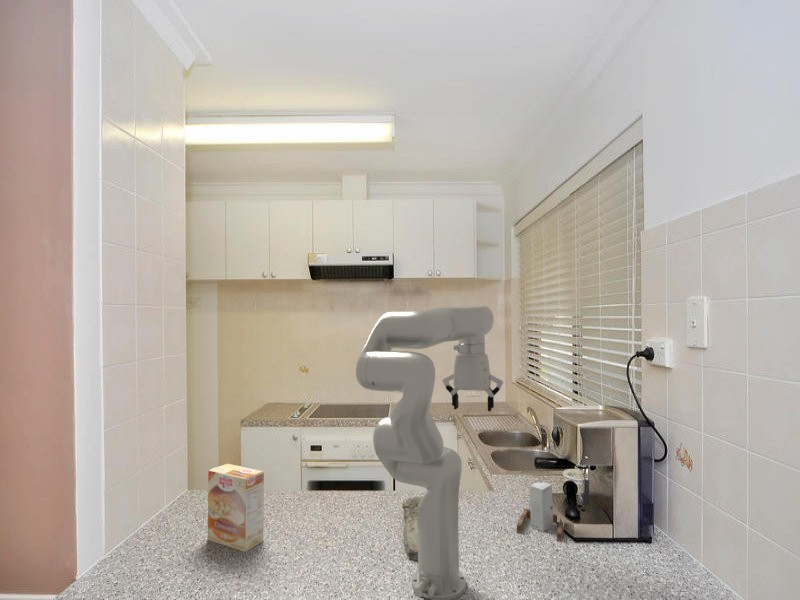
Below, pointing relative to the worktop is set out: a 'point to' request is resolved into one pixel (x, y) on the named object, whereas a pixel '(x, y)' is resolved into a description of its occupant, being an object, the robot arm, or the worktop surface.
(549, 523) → the skincare box
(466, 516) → the worktop surface
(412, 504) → the long grey stone
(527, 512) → the lane rack
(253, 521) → the coffeecake box
